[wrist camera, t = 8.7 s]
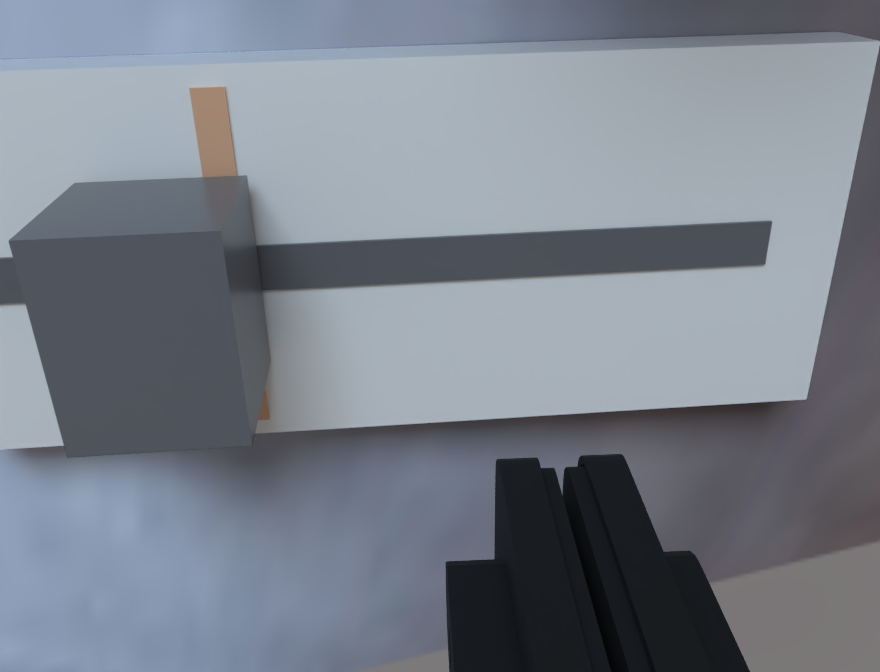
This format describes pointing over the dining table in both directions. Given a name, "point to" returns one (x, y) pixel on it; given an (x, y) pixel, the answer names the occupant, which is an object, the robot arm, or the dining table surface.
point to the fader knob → (148, 314)
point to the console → (477, 215)
